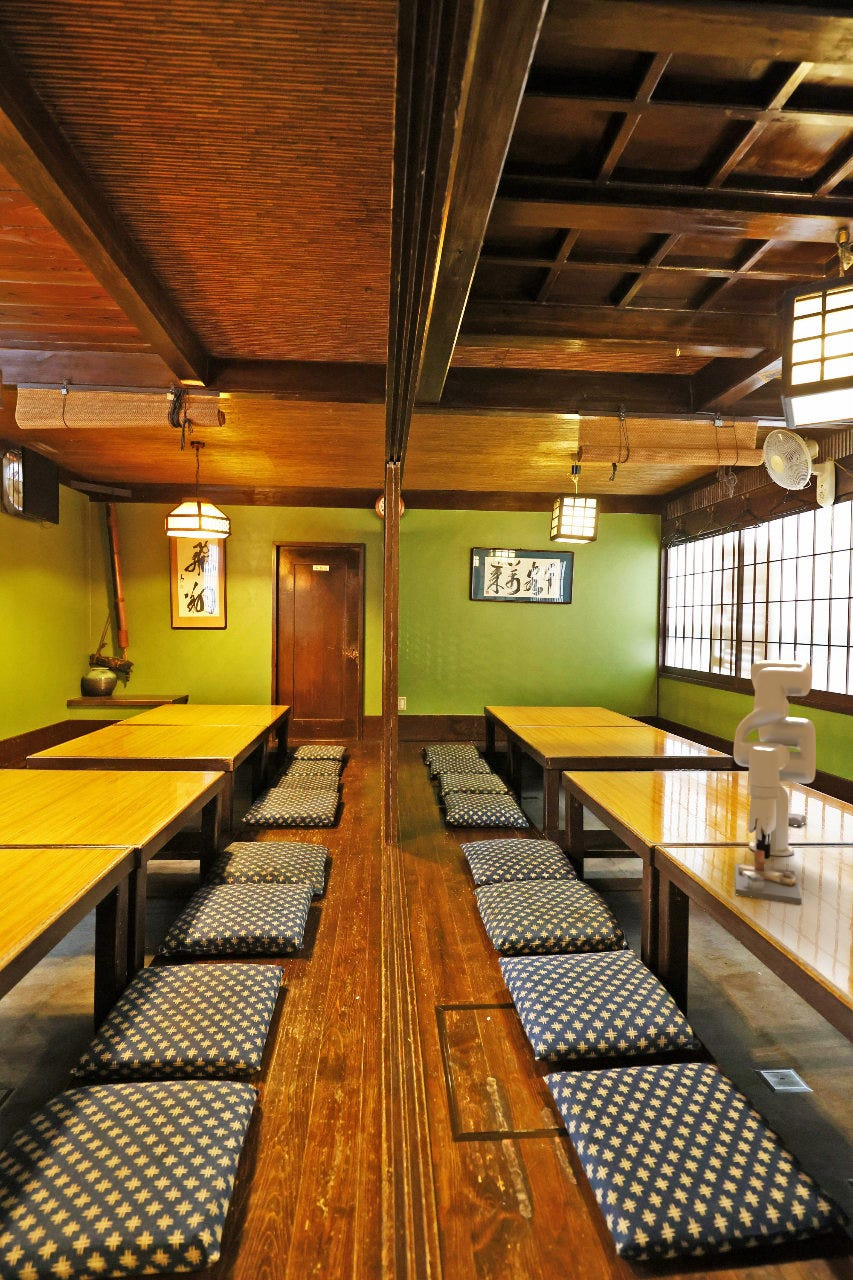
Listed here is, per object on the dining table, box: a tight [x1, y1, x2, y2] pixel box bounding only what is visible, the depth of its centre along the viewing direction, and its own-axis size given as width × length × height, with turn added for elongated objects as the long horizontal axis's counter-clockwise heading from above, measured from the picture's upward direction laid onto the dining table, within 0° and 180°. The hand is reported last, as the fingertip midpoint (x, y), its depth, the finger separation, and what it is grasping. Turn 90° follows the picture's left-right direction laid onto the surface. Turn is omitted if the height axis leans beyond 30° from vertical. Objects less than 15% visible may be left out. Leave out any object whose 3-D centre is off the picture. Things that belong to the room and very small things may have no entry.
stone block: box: [789, 812, 807, 827], centre depth 246 cm, size 12×5×10 cm
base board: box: [734, 862, 802, 905], centre depth 183 cm, size 22×15×2 cm
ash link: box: [738, 850, 796, 885], centre depth 184 cm, size 14×4×7 cm, turn 44°
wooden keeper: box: [742, 871, 764, 890], centre depth 177 cm, size 3×5×3 cm, turn 4°
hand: (763, 857), depth 187 cm, fingers closed
